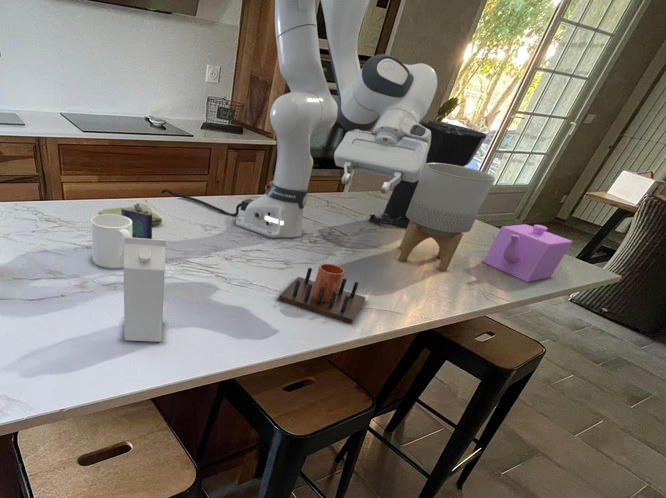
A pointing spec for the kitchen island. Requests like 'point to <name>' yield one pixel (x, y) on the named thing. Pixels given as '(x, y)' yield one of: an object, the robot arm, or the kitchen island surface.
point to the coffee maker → (444, 148)
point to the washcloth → (155, 218)
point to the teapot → (527, 251)
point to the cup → (328, 281)
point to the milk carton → (143, 288)
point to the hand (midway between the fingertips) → (363, 187)
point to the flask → (139, 221)
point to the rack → (338, 309)
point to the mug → (109, 239)
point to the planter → (444, 208)
